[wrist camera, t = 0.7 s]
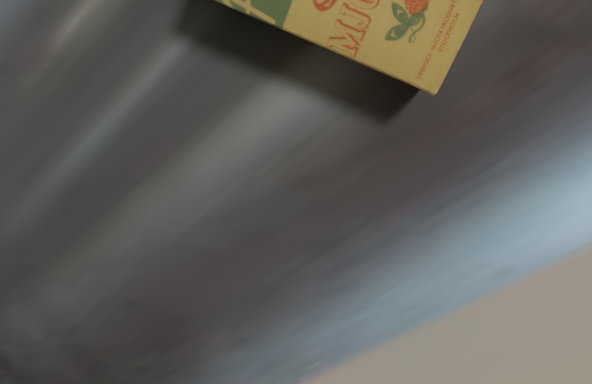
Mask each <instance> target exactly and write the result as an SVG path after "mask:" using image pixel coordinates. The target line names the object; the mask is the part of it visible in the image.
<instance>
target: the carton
mask: <svg viewBox="0 0 592 384" xmlns="http://www.w3.org/2000/svg"><path fill="white" fill-rule="evenodd" d="M214 1H216V2H218V3H221V4H223V5H226V6H228V7H230V8H232V9H235V10H237V11H239V12H242V13H244V14H247V15H249V16H252V17H254V18H256V19H259V20H261V21H263V22H266V23H268V24H270V25H273V26H275V27H277V28H280V29H282V30H284V31H287V32H289V33H291V34H293V35H296V36H298V37H300V38H303V39H305V40H307V41H310V42H312V43H314V44H317V45H319V46H321V47H323V48H326V49H328V50H330V51H333V52H335V53H337V54H339V55H342V56H344V57H346V58H348V59H351V60H353V61H355V62H358V63H360V64H362V65H364V66H367V67H369V68H371V69H374V70H376V71H379V72H381V73H383V74H386V75H388V76H390V77H393V78H395V79H398V80H400V81H402V82H405V83H407V84H410V85H412V86H414V87H416V88H418V89H420V90H422V91H424V92H426V93H428V94H430V95H435V94H436V93H437V92H438V90H439V88H440V86H441V84H442V82H443V80H444V78H445V76H446V74H447V72H448V70H449V68H450V66H451V65H452V63H453V60H454V58H455V56H456V54H457V52H458V50H459V49H460V47H461V45H462V43H463V40H464V38H465V36H466V34H467V32H468V30H469V28H470V26H471V24H472V22H473V20H474V18H475V16H476V14H477V12H478V11H479V9H480V7H481V5H482V3H483V1H484V0H214Z"/></svg>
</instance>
